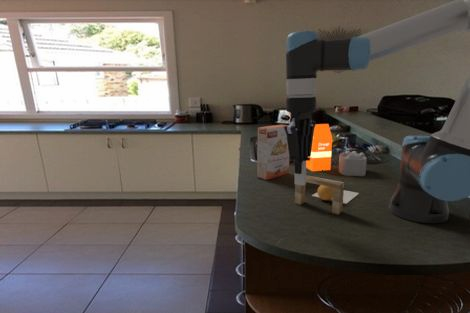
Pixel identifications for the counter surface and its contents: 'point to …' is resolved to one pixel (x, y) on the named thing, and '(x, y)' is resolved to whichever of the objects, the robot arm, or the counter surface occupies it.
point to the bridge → (337, 185)
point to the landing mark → (346, 196)
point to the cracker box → (272, 152)
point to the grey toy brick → (352, 163)
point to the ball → (325, 192)
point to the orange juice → (320, 149)
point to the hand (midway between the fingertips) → (300, 184)
